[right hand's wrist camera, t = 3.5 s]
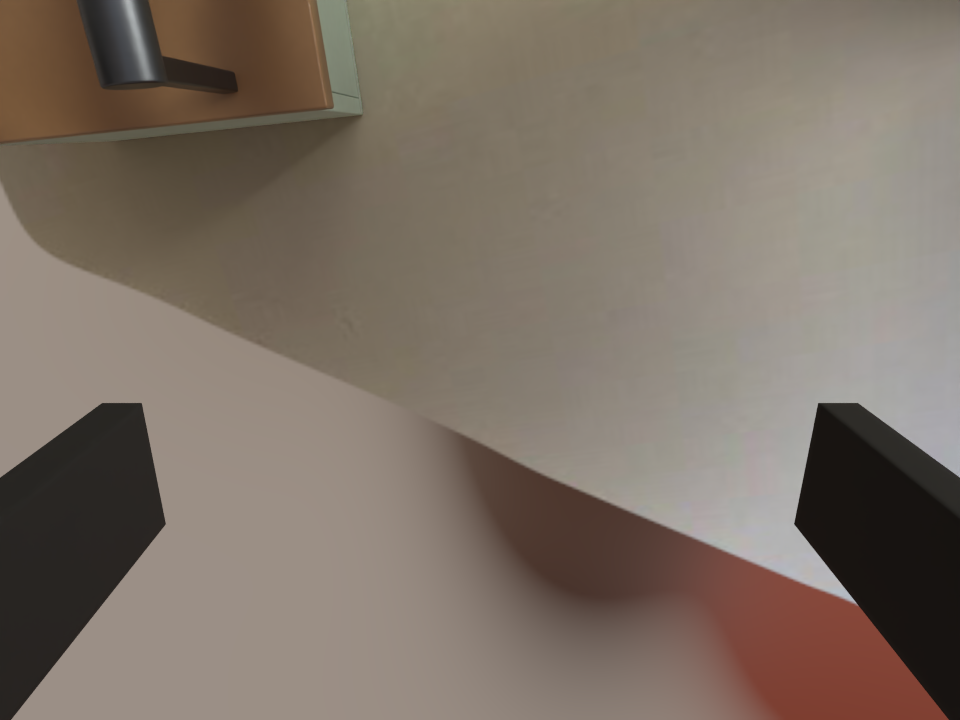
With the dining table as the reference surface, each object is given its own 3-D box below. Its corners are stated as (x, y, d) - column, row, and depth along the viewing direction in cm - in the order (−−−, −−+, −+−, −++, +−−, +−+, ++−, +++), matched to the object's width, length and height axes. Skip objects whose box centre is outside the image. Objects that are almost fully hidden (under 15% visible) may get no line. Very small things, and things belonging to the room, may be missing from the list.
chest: (333, -90, 30) (270, -182, 21) (363, 114, 34) (320, 110, 24) (56, -58, 31) (-120, -135, 22) (112, 141, 34) (-22, 146, 25)
